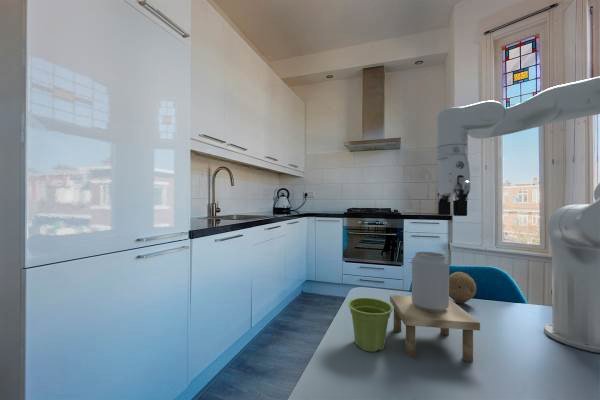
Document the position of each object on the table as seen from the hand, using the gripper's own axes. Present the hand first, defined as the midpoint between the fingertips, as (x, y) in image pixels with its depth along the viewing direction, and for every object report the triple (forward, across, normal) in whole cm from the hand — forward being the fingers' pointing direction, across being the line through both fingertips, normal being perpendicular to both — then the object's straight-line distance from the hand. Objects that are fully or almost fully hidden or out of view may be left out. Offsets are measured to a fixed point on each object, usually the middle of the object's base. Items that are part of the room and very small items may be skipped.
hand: (451, 215), depth 74 cm
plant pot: (+28, -18, +24) cm, 41 cm away
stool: (+28, -15, +11) cm, 34 cm away
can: (+20, -15, +11) cm, 28 cm away
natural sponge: (+28, +13, -8) cm, 32 cm away
